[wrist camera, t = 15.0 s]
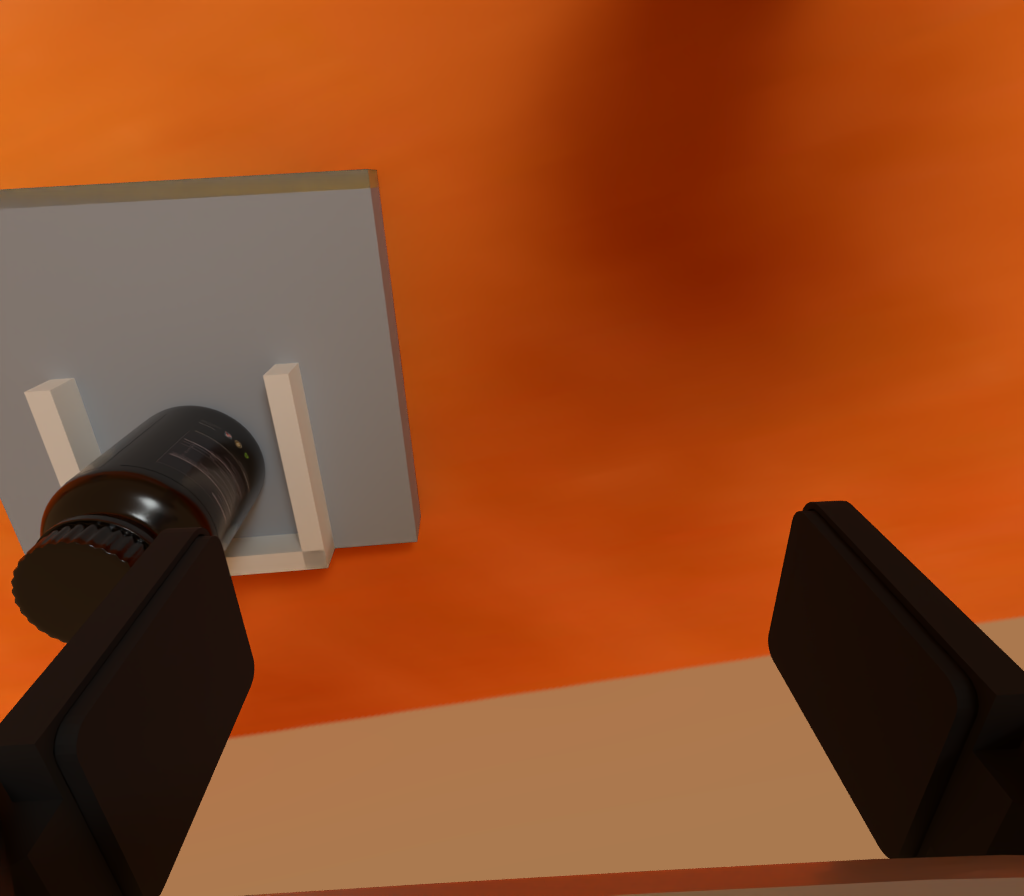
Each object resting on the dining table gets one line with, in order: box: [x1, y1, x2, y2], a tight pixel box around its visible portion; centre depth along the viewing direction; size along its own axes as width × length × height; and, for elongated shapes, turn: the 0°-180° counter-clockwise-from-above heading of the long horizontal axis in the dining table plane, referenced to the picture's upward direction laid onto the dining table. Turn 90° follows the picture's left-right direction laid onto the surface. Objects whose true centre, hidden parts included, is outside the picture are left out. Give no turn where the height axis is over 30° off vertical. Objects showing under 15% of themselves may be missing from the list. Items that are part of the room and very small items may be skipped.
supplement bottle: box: [11, 405, 265, 643], centre depth 28 cm, size 7×7×12 cm
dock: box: [0, 169, 421, 576], centre depth 32 cm, size 20×22×5 cm
